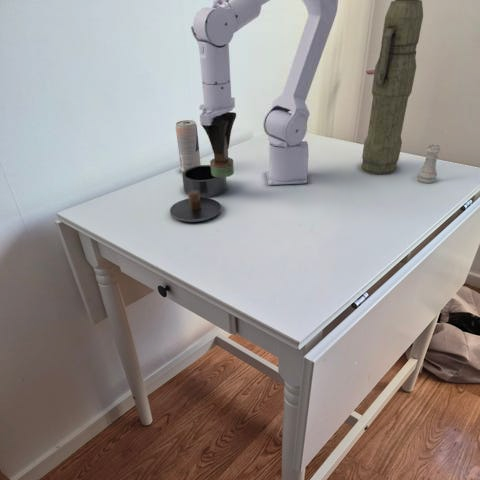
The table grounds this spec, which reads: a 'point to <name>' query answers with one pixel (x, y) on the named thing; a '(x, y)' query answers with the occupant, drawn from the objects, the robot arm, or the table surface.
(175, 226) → the table surface
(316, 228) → the table surface
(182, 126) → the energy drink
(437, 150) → the rook chess piece
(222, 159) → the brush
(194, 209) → the tin lid
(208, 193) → the tin
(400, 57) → the green robed figurine
